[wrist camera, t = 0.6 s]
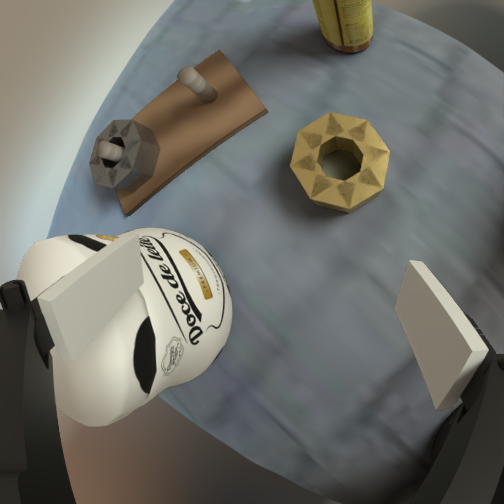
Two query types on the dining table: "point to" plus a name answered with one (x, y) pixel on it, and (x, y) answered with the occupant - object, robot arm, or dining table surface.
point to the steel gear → (126, 156)
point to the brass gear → (347, 139)
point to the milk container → (137, 323)
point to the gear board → (190, 122)
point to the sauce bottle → (345, 23)
